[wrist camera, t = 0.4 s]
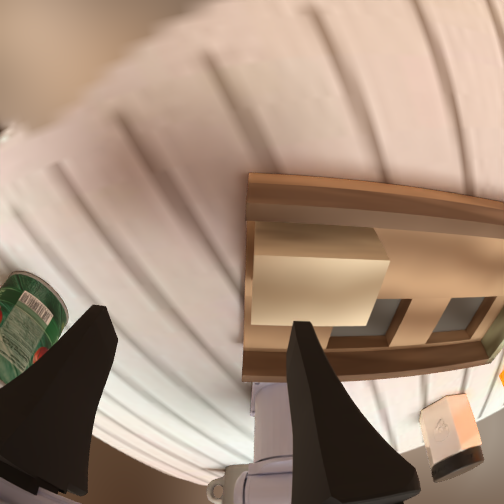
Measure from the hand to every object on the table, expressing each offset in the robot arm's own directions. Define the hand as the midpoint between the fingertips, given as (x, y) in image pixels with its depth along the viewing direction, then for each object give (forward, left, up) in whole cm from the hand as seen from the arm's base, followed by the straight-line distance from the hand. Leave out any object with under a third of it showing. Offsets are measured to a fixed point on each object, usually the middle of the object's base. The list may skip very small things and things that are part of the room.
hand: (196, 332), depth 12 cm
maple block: (-2, -6, -9) cm, 11 cm away
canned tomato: (-11, +19, -11) cm, 25 cm away
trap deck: (-6, -15, -10) cm, 19 cm away
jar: (-32, -33, -11) cm, 47 cm away
